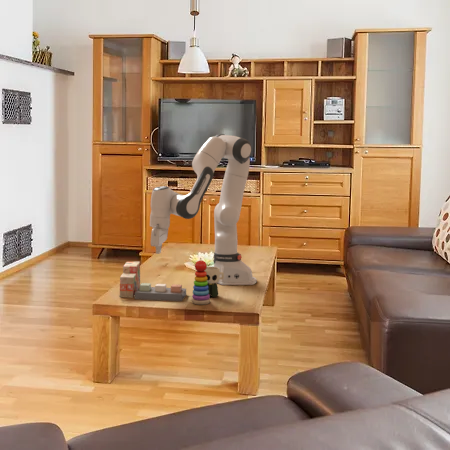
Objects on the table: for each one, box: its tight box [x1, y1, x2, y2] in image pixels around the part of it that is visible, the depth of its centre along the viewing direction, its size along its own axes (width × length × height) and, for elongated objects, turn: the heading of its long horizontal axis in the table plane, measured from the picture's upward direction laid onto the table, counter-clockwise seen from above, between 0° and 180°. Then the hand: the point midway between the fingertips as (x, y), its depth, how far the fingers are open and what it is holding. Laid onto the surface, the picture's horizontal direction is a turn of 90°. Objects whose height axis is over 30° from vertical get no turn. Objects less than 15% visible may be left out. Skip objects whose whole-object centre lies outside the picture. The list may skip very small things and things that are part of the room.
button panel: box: [134, 286, 187, 302], centre depth 300 cm, size 21×11×3 cm, turn 84°
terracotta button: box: [170, 283, 183, 293], centre depth 299 cm, size 4×4×3 cm
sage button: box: [140, 282, 152, 291], centre depth 301 cm, size 4×4×3 cm
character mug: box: [205, 266, 224, 298], centre depth 302 cm, size 11×7×13 cm, turn 88°
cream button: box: [154, 283, 167, 292], centre depth 300 cm, size 4×4×3 cm
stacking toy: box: [191, 259, 211, 306], centre depth 290 cm, size 8×8×19 cm
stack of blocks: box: [119, 261, 141, 298], centre depth 309 cm, size 21×6×12 cm, turn 179°
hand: (158, 253), depth 304 cm, fingers closed
